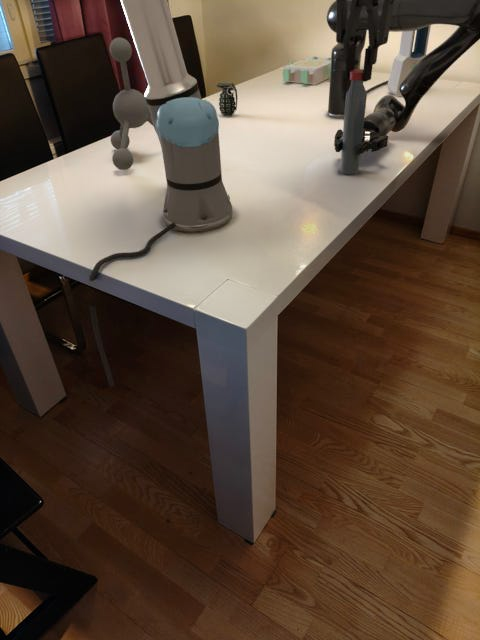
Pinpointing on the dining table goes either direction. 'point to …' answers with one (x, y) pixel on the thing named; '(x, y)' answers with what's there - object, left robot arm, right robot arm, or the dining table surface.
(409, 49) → the electronic device
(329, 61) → the decorative block
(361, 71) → the cap
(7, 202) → the dining table surface
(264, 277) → the dining table surface
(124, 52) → the molecular model
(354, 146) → the bottle
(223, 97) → the grenade
